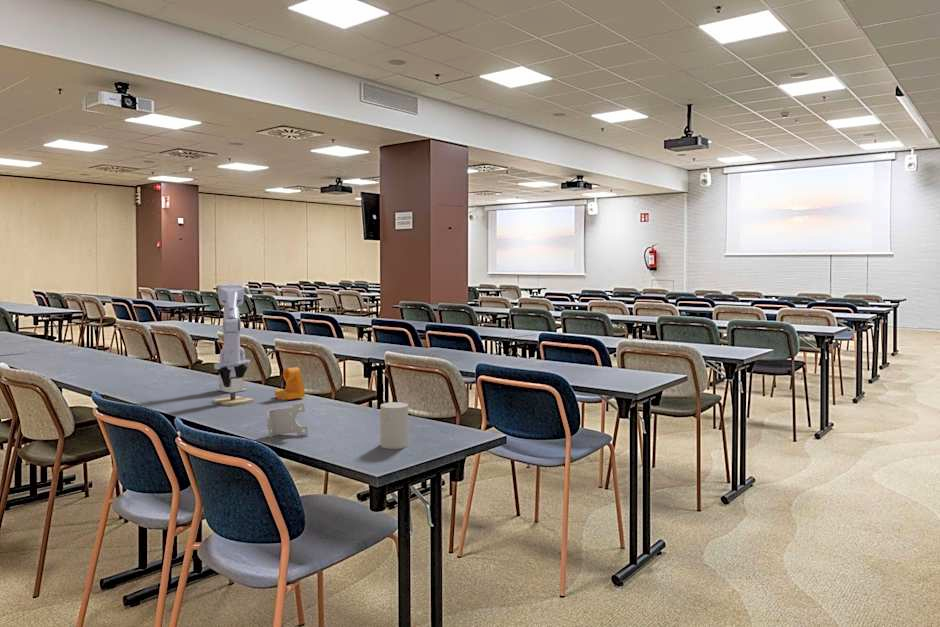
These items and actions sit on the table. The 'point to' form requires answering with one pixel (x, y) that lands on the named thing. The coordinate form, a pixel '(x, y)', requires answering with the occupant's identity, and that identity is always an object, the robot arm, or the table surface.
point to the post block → (232, 400)
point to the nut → (234, 384)
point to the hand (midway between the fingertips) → (232, 385)
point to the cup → (394, 425)
